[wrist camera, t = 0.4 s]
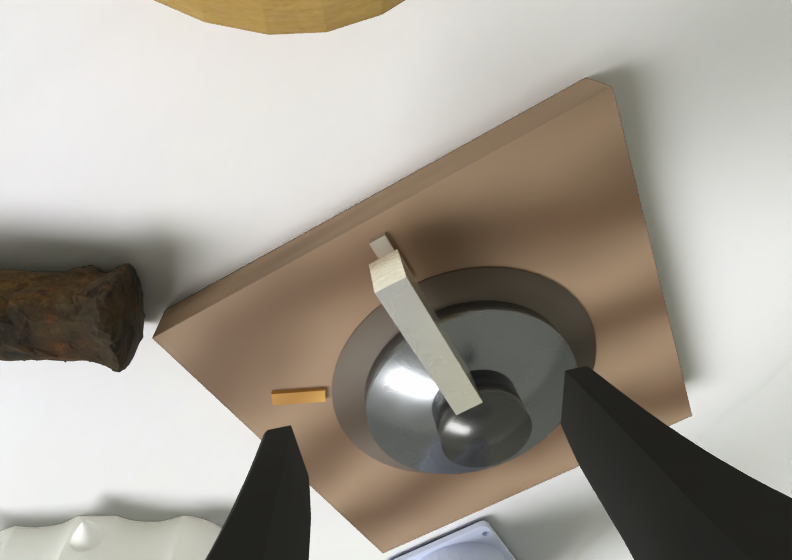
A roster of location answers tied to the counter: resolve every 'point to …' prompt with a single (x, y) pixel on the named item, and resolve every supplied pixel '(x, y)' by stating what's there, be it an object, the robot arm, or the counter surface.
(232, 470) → the counter surface
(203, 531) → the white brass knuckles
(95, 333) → the brown rough bar
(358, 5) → the pot
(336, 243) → the dial board
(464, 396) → the dial
